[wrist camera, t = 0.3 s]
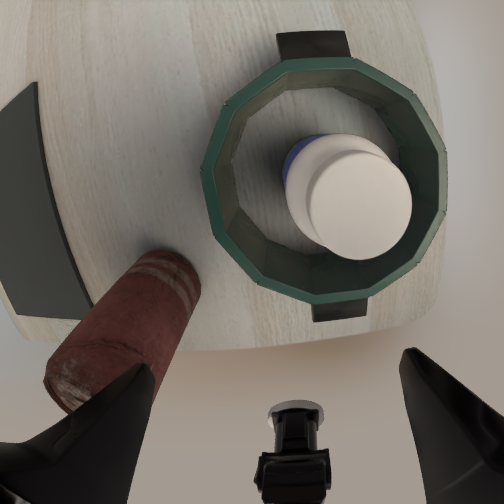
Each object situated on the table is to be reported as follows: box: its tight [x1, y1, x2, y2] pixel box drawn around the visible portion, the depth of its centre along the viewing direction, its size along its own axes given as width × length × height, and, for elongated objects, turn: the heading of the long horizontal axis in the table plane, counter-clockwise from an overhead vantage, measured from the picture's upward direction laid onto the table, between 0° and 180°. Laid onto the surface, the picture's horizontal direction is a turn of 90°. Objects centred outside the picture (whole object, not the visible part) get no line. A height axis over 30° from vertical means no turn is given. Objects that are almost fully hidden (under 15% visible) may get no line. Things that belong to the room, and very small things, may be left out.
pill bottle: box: [282, 133, 412, 260], centre depth 13 cm, size 5×5×10 cm
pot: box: [200, 30, 448, 322], centre depth 15 cm, size 17×13×6 cm
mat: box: [0, 82, 94, 320], centre depth 22 cm, size 26×19×1 cm
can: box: [43, 250, 201, 415], centre depth 16 cm, size 6×6×14 cm
